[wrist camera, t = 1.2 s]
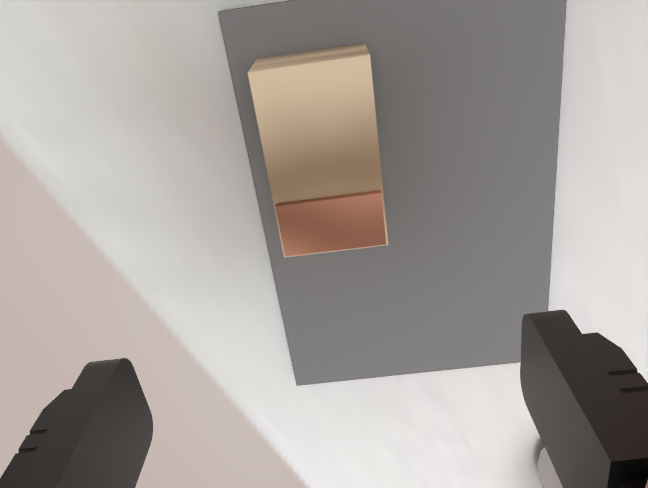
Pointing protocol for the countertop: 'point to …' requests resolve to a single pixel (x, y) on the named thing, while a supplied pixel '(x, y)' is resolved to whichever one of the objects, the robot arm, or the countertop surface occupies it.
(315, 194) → the beige rectangular block
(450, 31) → the mat
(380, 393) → the countertop surface
